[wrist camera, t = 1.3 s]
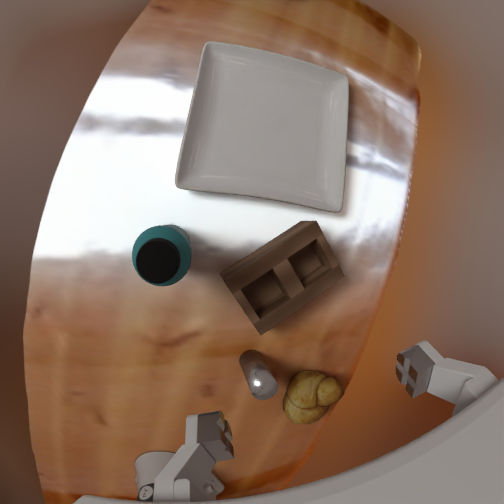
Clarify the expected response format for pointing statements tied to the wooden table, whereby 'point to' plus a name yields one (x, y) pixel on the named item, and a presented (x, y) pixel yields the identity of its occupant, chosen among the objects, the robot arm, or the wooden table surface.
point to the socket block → (283, 275)
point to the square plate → (266, 128)
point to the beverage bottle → (162, 255)
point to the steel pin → (258, 375)
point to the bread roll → (310, 396)
